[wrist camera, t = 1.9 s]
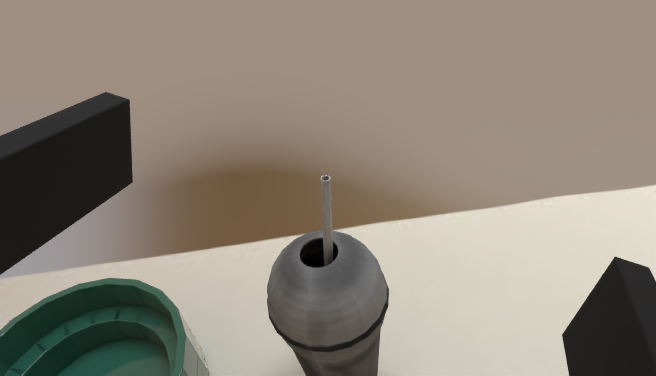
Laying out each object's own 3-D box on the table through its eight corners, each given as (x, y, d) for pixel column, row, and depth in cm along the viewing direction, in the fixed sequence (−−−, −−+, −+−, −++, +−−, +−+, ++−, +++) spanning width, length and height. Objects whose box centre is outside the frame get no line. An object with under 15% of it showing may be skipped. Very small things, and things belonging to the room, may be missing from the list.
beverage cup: (279, 380, 36) (203, 190, 23) (351, 324, 39) (319, 127, 26) (339, 458, 32) (285, 278, 18) (414, 388, 34) (416, 188, 21)
